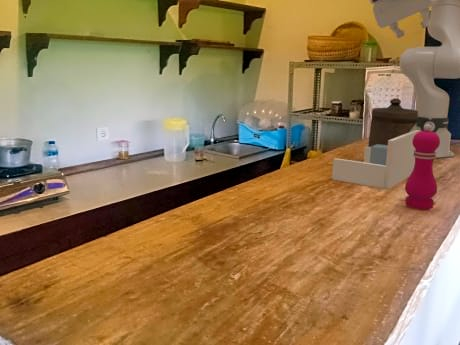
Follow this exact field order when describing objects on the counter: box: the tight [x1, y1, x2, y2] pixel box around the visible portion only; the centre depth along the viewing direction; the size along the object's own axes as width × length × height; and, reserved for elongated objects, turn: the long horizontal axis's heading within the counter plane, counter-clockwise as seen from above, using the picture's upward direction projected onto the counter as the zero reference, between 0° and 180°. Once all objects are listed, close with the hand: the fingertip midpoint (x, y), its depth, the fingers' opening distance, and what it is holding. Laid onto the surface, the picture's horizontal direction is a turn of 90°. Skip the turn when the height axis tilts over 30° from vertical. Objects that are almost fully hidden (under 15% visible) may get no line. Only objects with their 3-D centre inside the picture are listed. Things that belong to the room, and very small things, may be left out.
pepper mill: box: [404, 124, 440, 211], centre depth 114 cm, size 7×7×20 cm
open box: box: [331, 130, 420, 190], centre depth 140 cm, size 24×16×14 cm, turn 143°
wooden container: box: [367, 97, 418, 147], centre depth 161 cm, size 15×15×22 cm
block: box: [370, 144, 388, 165], centre depth 139 cm, size 5×5×9 cm
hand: (413, 32), depth 136 cm, fingers open, 8 cm apart
